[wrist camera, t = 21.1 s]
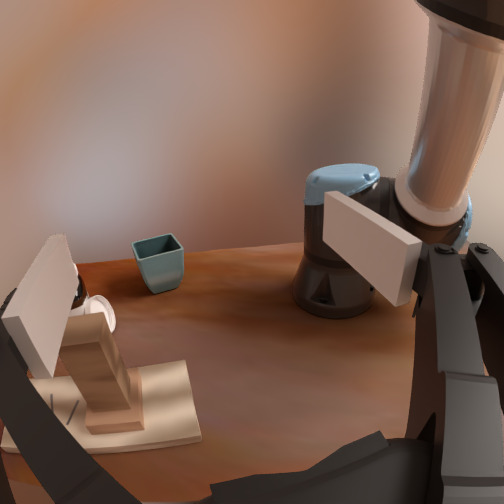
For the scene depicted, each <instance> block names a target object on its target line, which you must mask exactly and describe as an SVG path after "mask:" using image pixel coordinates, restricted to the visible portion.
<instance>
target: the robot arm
mask: <svg viewBox="0 0 504 504" xmlns="http://www.w3.org/2000/svg"><path fill="white" fill-rule="evenodd" d="M415 2H416V4H417V5H418V6H419V7H420V8H421V9H422V10H423V11H424V12H425V13H426V14H427V16H428V17H429V19H430V21H429V36H428V48H427V58H426V67H425V75H424V84H423V90H422V98H421V104H420V111H419V116H418V122H417V129H416V133H415V139H414V144H413V149H412V153H411V158H410V162H409V163H407V164H406V165H404V166H403V167H402V168H401V169H400V170H399V172H398V174H397V176H396V178H389V177H388V178H386V177H379V176H380V173H379V171H378V169H377V168H376V167H374V166H371V165H363V164H339V165H331V166H326V167H323V168H319V169H317V170H315V171H313V172H312V173H311V174H310V175H309V176H308V177H307V179H306V186H305V198H304V204H305V221H304V222H305V223H304V225H305V226H304V255H303V258H302V260H301V263H300V265H299V268H298V270H297V273H296V275H295V278H294V281H293V297H294V299H295V301H296V303H297V304H298V305H299V306H300V307H301V308H303V309H304V310H306V311H308V312H309V313H312V314H314V315H317V316H321V317H325V318H334V319H340V318H349V317H353V316H357V315H359V314H361V313H363V312H365V311H366V310H367V309H368V308H369V307H370V306H371V305H372V303H373V299H374V294H375V288H376V289H377V290H378V291H379V292H380V293H381V294H382V295H383V296H384V297H385V298H386V299H387V300H388V301H390V302H391V303H392V304H393V305H394V306H395V307H397V306H400V305H403V304H406V303H409V301H410V297H411V293H412V289H413V290H414V291H415V292H416V293H417V294H418V296H417V300H416V304H415V308H414V311H413V315H412V317H415V315H416V331H415V353H414V368H413V380H412V391H411V400H410V409H409V416H408V424H407V430H406V434H405V438H393V439H385V437H384V436H383V435H382V433H381V432H380V430H379V431H377V432H375V433H373V434H370V435H368V436H366V437H364V438H361V439H359V440H357V441H354V442H352V443H349V444H347V445H344V446H342V447H341V448H340V449H338V450H337V451H335V452H334V453H332V454H331V455H329V456H328V457H326V458H325V459H323V460H322V461H320V462H319V463H317V464H316V465H314V466H313V467H311V468H309V469H308V470H305V471H300V472H290V473H277V474H258V475H251V476H247V477H243V478H239V479H235V480H230V481H225V482H220V483H215V484H210V488H211V492H212V495H210V496H208V497H206V498H204V499H202V500H200V501H198V502H197V503H195V504H504V459H503V457H504V456H503V431H502V418H501V409H502V411H503V414H504V262H503V260H502V259H501V258H500V257H499V256H498V255H497V254H496V253H495V251H494V250H493V249H491V248H490V247H488V246H487V245H485V244H483V243H472V244H470V245H469V248H468V252H467V254H458V252H459V251H460V249H461V248H462V247H463V245H464V244H465V242H466V240H467V237H468V230H469V229H470V227H471V222H472V204H471V199H470V196H469V194H468V192H467V189H466V187H467V184H468V182H469V180H470V178H471V176H472V173H473V171H474V169H475V167H476V164H477V162H478V160H479V157H480V154H481V152H482V150H483V147H484V145H485V142H486V140H487V137H488V135H489V132H490V129H491V127H492V124H493V121H494V118H495V116H496V113H497V110H498V107H499V104H500V101H501V98H502V94H503V91H504V0H415ZM78 285H79V280H78V277H77V274H76V271H75V268H74V264H73V261H72V258H71V255H70V251H69V248H68V244H67V241H66V237H65V234H64V233H60V234H55V235H51V236H50V237H49V239H48V240H47V242H46V243H45V245H44V246H43V248H42V249H41V251H40V252H39V254H38V255H37V257H36V258H35V260H34V262H33V263H32V265H31V266H30V268H29V270H28V271H27V273H26V275H25V276H24V278H23V280H22V281H21V283H20V285H19V286H18V288H15V289H14V290H13V291H12V292H11V293H10V294H9V295H8V296H7V298H6V300H5V301H4V304H3V305H2V306H1V308H0V417H1V419H2V421H3V423H4V425H5V427H6V429H7V431H8V432H9V434H10V436H11V438H12V440H13V441H14V443H15V445H16V446H17V448H18V450H19V451H20V453H21V455H22V456H23V458H24V459H25V461H26V463H27V464H28V466H29V467H30V469H31V470H32V472H33V473H34V475H35V476H36V478H37V479H38V480H39V482H40V483H41V485H42V486H43V487H44V489H45V490H46V492H47V493H48V494H49V495H50V497H51V498H52V500H53V501H54V502H55V504H142V503H141V502H140V501H138V500H137V499H136V498H135V497H134V496H133V495H131V494H130V493H129V492H128V491H127V490H126V489H125V488H124V487H123V486H121V485H120V484H119V483H118V482H117V481H116V480H115V479H114V478H113V477H112V476H111V475H110V474H109V473H108V472H107V471H106V470H105V469H104V468H102V467H101V466H100V465H99V464H98V463H97V462H96V461H95V460H94V459H93V458H92V457H91V456H90V455H89V454H88V453H87V451H86V450H85V449H84V448H83V447H82V446H81V445H80V444H79V443H78V441H77V440H76V439H75V438H74V437H73V436H72V435H71V433H70V432H69V431H68V430H67V429H66V427H65V426H64V425H63V424H62V423H61V421H60V420H59V419H58V418H57V416H56V415H55V414H54V413H53V411H52V410H51V409H50V407H49V406H48V405H47V404H46V402H45V401H44V399H43V398H42V397H41V395H40V394H39V393H38V391H37V390H36V388H35V387H34V386H33V384H32V383H31V381H30V380H29V378H28V377H27V375H26V374H27V371H28V368H29V370H30V372H31V373H32V375H33V376H34V378H35V380H38V379H51V378H53V375H54V370H55V366H56V362H57V357H58V353H59V349H60V346H61V342H62V338H63V334H64V331H65V327H66V323H67V320H68V317H69V313H70V310H71V307H72V303H73V300H74V297H75V294H76V291H77V288H78ZM483 293H484V295H483ZM482 359H483V360H482ZM483 362H484V364H485V366H486V369H487V371H488V374H489V376H485V374H484V367H483ZM500 406H501V408H500ZM0 504H16V503H15V500H14V497H13V494H12V491H11V488H10V485H9V482H8V478H7V475H6V472H5V468H4V465H3V461H2V457H1V453H0Z"/></svg>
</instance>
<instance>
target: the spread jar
mask: <svg viewBox="0 0 504 504" xmlns="http://www.w3.org/2000/svg"><path fill="white" fill-rule="evenodd" d="M73 264H74V263H73ZM74 268H75V271H76V274H77V277H78V280H79V285H78V288H77V291H76V294H75V297H74V300H73V303H72V307H71V310H70V313H69V317H72V316H78V315H85V314H91V313H98V312H104V314H105V317H106V320H107V323H108V325H109V328H110V331H111V333H112V332H113V331H114V329H115V322H116V321H115V315H114V311H113V309H112V307H111V305H110V303H109V302H108V301H107V300H106V299H105V298H104V297H103V296H100V295H96V296H93V297H91V298H89V296H88V293H87V290H86V287H85V284H84V281H83V279H82V277H81V276H80V275H79V274H78V271H77V268H76V265H75V264H74Z"/></svg>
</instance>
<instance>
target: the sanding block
mask: <svg viewBox="0 0 504 504" xmlns="http://www.w3.org/2000/svg"><path fill="white" fill-rule="evenodd" d="M58 354H59V355H60V357H61V359H62V361H63V363H64V365H65V367H66V368H67V370H68V372H69V374H70V376H71V377H72V379H73V381H74V383H75V384H76V386H77V388H78V389H79V391H80V393H81V394H82V396H83V398H84V399H85V401H86V402H87V407H86V420H85V427H86V428H87V429H88V431H89V432H90V433H91V435H99V434H111V433H122V432H132V431H140V430H145V427H144V414H143V400H142V381H141V375H140V373H139V370H138V368H137V367H135V368H128V369H126V368H125V366H124V363H123V361H122V358H121V356H120V354H119V351H118V349H117V346H116V344H115V341H114V339H113V336H112V333H111V331H110V328H109V325H108V323H107V320H106V317H105V314H104V312H98V313H91V314H85V315H78V316H72V317H68V320H67V323H66V327H65V331H64V334H63V338H62V342H61V346H60V349H59V353H58Z"/></svg>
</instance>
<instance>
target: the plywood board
mask: <svg viewBox="0 0 504 504" xmlns="http://www.w3.org/2000/svg"><path fill="white" fill-rule="evenodd" d="M137 368H138V370H139V373H140V375H141V381H142V400H143V414H144V427H145V430H140V431H132V432H122V433H111V434H99V435H91V433H90V432H89V431H88V429H87V428H86V427H85V420H86V407H87V402H86V401H85V399H84V398H83V396H82V394H81V393H80V391H79V389H78V388H77V386H76V384H75V383H74V381H73V379H72V377H71V376H61V377H53V378H51V379H38V380H35V379H29V380H30V381H31V383H32V384H33V386H34V387H35V388H36V390H37V391H38V393H39V394H40V395H41V397H42V398H43V399H44V401H45V402H46V404H47V405H48V406H49V407H50V409H51V410H52V411H53V413H54V414H55V415H56V416H57V418H58V419H59V420H60V421H61V423H62V424H63V425H64V426H65V427H66V429H67V430H68V431H69V432H70V433H71V435H72V436H73V437H74V438H75V439H76V440H77V441H78V443H79V444H80V445H81V446H82V447H83V448H84V449H85V450H86V451H87V453H88V454H103V453H118V452H130V451H140V450H148V449H157V448H164V447H171V446H178V445H184V444H190V443H196V442H201V441H202V436H201V432H200V428H199V423H198V419H197V414H196V410H195V405H194V400H193V395H192V390H191V385H190V380H189V375H188V370H187V365H186V361H185V360H180V361H174V362H168V363H162V364H156V365H150V366H143V367H137ZM0 447H1V448H2V449H3V450H4V451H5V452H8V453H20V451H19V450H18V448H17V446H16V445H15V443H14V441H13V440H12V438H11V436H10V434H9V432H8V431H7V429H6V427H4V431H3V436H2V441H1V446H0Z"/></svg>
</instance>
